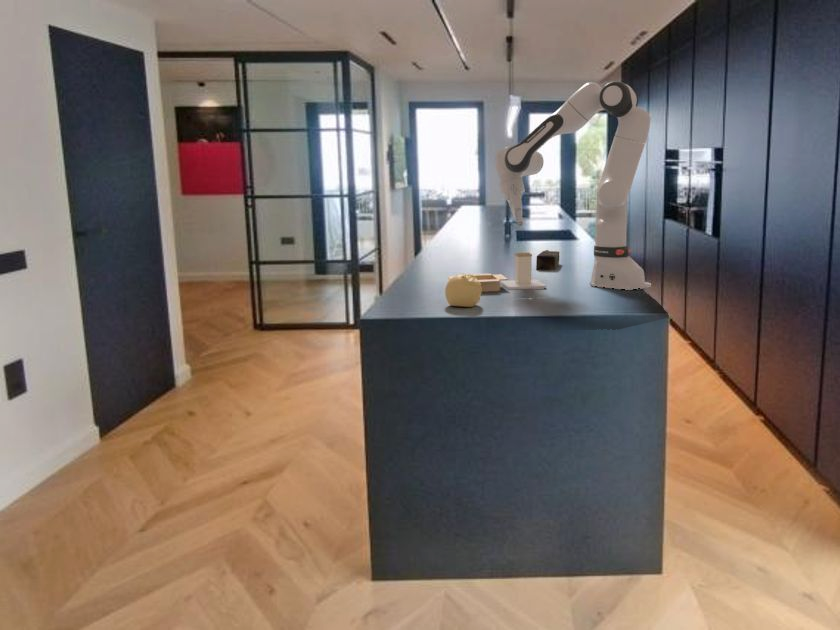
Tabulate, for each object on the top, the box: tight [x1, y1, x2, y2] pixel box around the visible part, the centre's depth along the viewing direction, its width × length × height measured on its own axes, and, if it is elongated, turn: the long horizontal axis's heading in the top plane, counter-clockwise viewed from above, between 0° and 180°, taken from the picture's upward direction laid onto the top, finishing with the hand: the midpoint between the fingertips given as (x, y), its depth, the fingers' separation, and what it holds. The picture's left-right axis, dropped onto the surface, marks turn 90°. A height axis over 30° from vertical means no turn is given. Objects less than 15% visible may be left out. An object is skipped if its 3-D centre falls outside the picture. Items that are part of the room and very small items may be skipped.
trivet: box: [500, 278, 547, 290], centre depth 279 cm, size 14×14×1 cm
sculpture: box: [444, 272, 483, 308], centre depth 245 cm, size 11×12×11 cm
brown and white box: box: [514, 252, 533, 284], centre depth 277 cm, size 5×5×11 cm
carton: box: [447, 272, 509, 293], centre depth 273 cm, size 17×20×4 cm
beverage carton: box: [535, 249, 560, 271], centre depth 323 cm, size 8×19×7 cm, turn 163°
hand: (520, 224), depth 288 cm, fingers open, 8 cm apart
